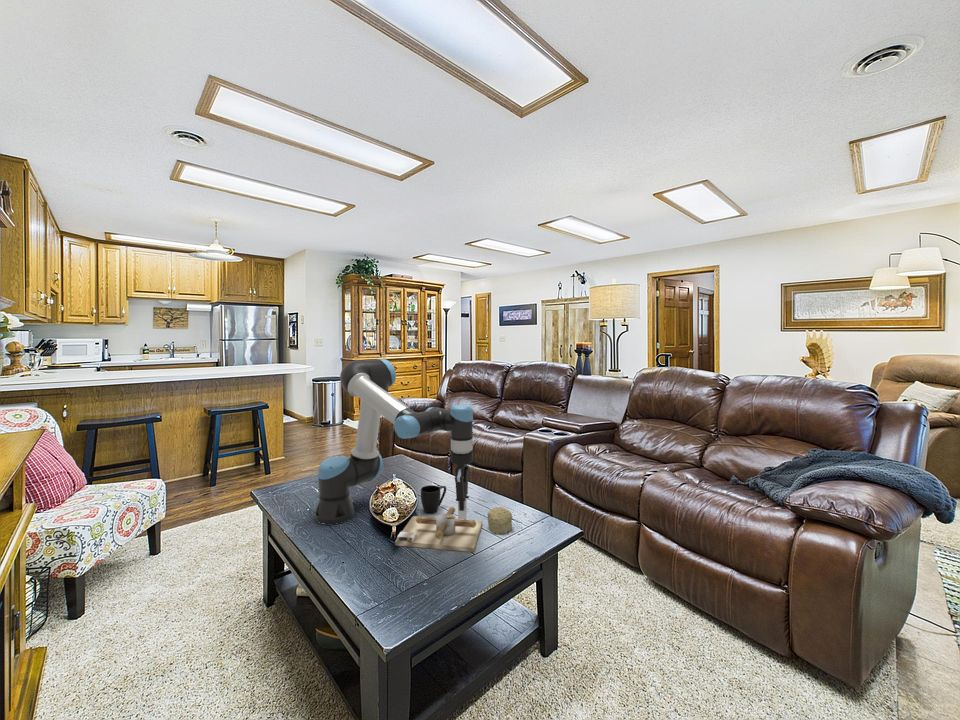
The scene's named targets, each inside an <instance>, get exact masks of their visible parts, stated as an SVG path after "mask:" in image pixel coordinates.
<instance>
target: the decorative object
mask: <svg viewBox="0 0 960 720" xmlns="http://www.w3.org/2000/svg"><path fill="white" fill-rule="evenodd" d="M512 521H513V513H512V512H511V511H510V509H507V508H504V507H502V506H501V507H500V506H495V507H494V508H492V509H490V510H489V511H488V512H487V523H488V530H489V529H490V530H489V531H490V532H491V533H492V532H493V533H492V534H494V533H496V534H495V535H501V534H502V535H503V533H504V534H507V533H506V532H508V531H509V532H511V530H512V528H513V524H512ZM509 532H508V533H509ZM500 533H501V534H500Z"/></svg>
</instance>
